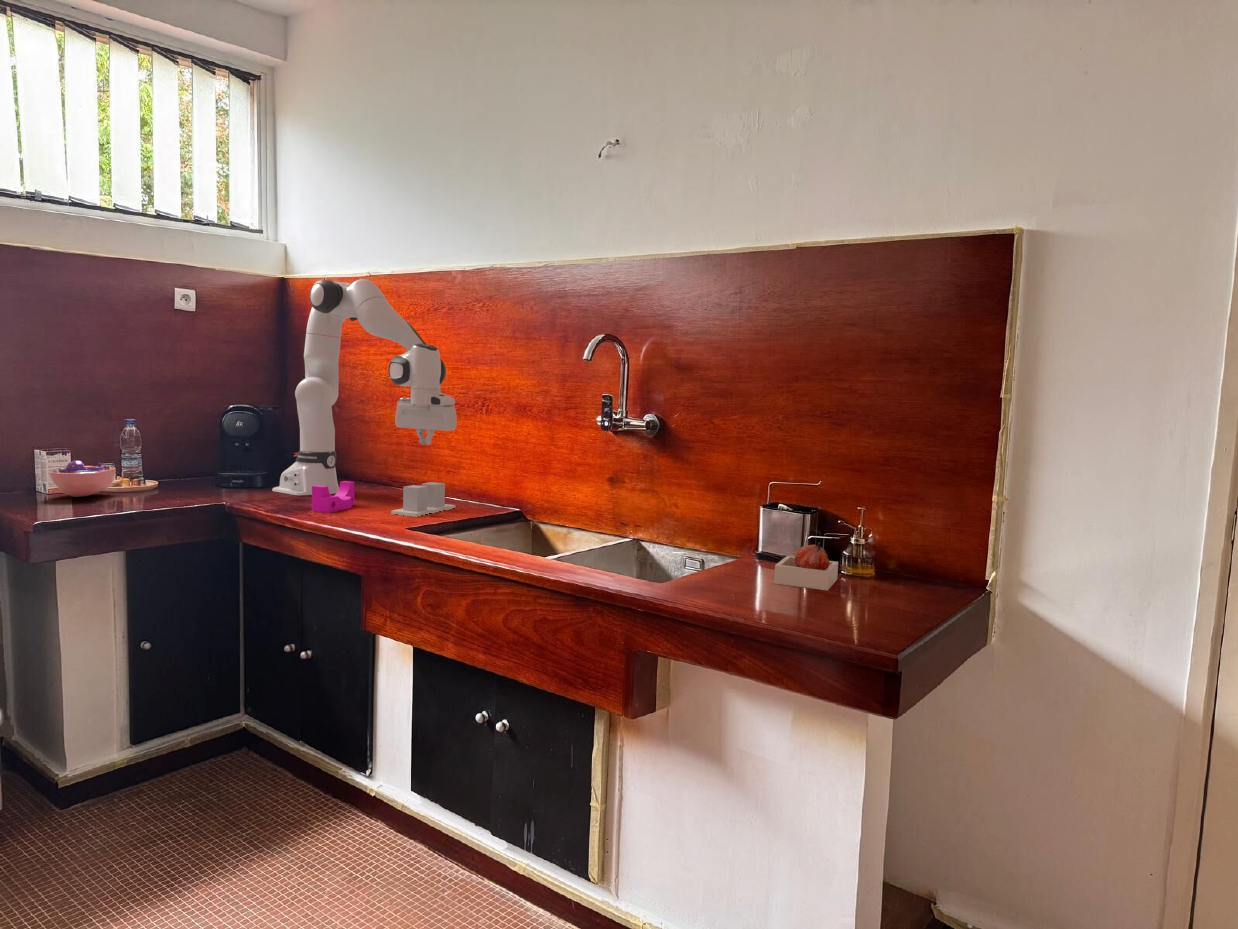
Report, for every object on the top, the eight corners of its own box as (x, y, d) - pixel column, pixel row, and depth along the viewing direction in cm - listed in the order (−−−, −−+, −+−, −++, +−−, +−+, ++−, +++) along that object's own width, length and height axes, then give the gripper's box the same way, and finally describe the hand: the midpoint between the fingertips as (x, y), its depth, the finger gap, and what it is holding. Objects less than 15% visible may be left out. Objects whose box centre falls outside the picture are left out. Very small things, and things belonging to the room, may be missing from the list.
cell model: (131, 493, 280) (131, 457, 278) (83, 501, 260) (82, 464, 259) (85, 489, 282) (84, 455, 281) (34, 498, 263) (33, 460, 262)
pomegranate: (783, 572, 193) (795, 532, 190) (813, 574, 195) (825, 534, 192) (797, 589, 187) (809, 548, 183) (827, 591, 188) (840, 550, 185)
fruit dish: (773, 583, 188) (774, 565, 188) (786, 573, 198) (787, 555, 198) (827, 590, 183) (828, 572, 183) (837, 579, 194) (838, 561, 193)
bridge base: (391, 514, 257) (391, 487, 257) (431, 505, 276) (431, 480, 275) (416, 517, 254) (416, 489, 253) (455, 508, 272) (455, 482, 271)
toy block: (328, 513, 257) (329, 487, 256) (311, 511, 259) (311, 486, 258) (361, 506, 271) (361, 482, 270) (344, 504, 273) (344, 480, 272)
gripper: (390, 397, 262) (390, 442, 264) (447, 400, 254) (447, 447, 256) (403, 396, 268) (403, 441, 270) (459, 399, 260) (459, 445, 262)
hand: (425, 444), depth 263 cm, fingers closed
